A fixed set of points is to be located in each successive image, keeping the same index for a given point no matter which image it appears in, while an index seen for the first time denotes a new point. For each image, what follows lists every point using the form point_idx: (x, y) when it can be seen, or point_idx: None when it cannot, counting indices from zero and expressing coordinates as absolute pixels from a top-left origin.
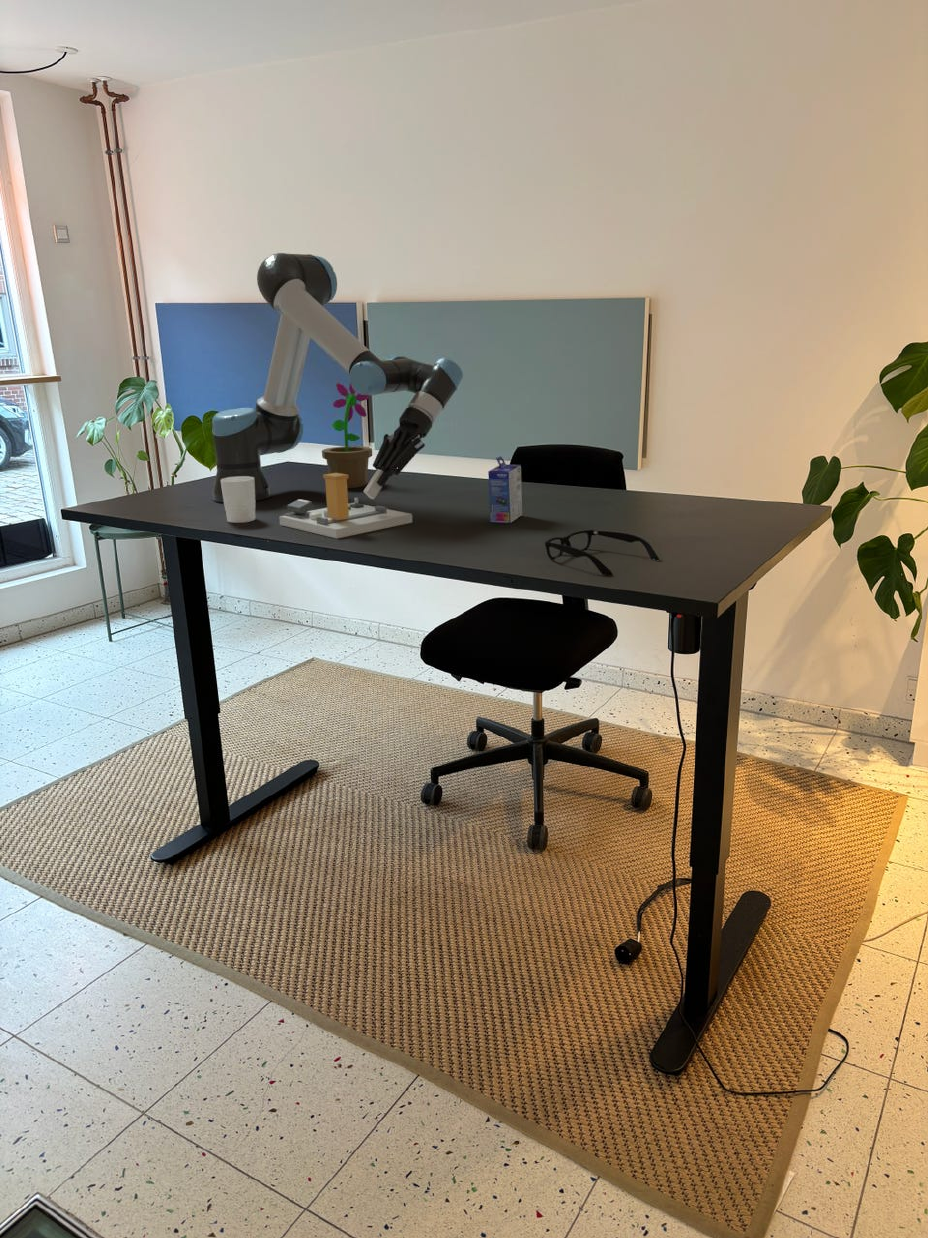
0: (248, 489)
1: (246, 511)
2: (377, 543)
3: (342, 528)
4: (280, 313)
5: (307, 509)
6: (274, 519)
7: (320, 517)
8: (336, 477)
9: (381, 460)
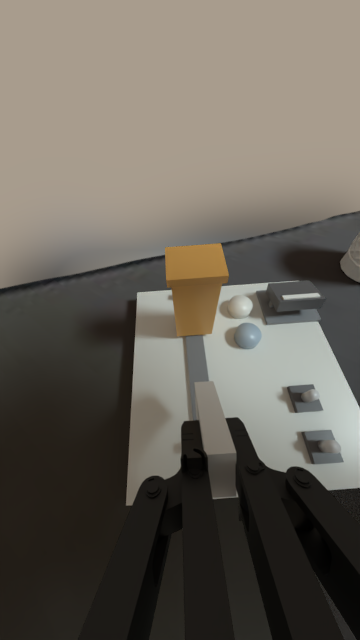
0: None
1: (351, 255)
2: (64, 324)
3: (137, 303)
4: None
5: (271, 301)
6: (345, 302)
7: None
8: (165, 251)
9: (281, 518)
